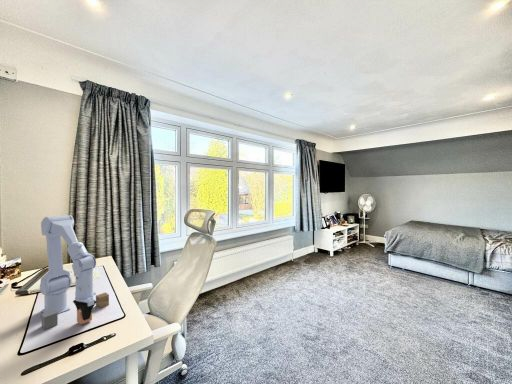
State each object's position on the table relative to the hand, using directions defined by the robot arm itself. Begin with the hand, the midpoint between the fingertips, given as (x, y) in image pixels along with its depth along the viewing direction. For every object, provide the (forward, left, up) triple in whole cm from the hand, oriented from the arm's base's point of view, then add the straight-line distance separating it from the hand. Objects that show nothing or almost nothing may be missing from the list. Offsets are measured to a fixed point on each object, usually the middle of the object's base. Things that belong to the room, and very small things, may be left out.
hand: (84, 317), depth 92 cm
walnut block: (-9, +10, -2) cm, 14 cm away
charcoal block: (-9, -9, -2) cm, 13 cm away
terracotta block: (0, 0, -1) cm, 1 cm away
